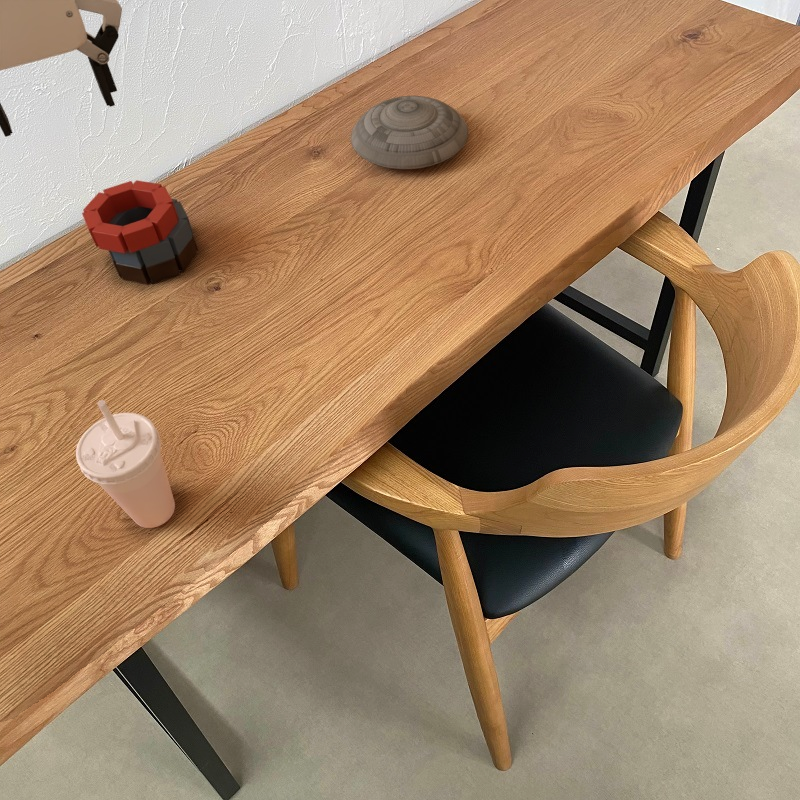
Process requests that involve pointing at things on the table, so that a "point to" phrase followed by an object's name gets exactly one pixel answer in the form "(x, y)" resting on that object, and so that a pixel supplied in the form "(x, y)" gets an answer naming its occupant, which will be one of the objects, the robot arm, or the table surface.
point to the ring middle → (163, 249)
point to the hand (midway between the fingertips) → (58, 114)
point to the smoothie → (128, 465)
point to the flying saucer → (409, 133)
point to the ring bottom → (159, 267)
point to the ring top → (134, 233)
